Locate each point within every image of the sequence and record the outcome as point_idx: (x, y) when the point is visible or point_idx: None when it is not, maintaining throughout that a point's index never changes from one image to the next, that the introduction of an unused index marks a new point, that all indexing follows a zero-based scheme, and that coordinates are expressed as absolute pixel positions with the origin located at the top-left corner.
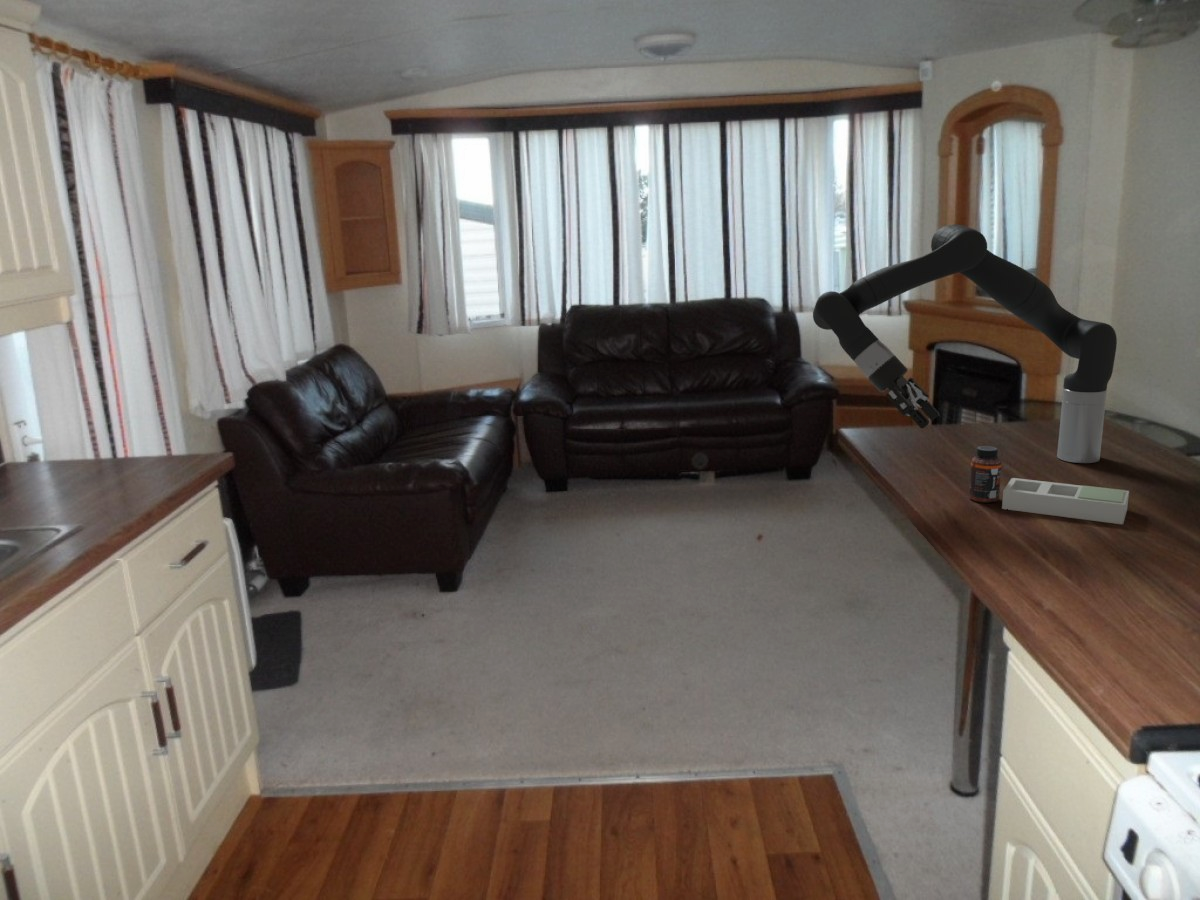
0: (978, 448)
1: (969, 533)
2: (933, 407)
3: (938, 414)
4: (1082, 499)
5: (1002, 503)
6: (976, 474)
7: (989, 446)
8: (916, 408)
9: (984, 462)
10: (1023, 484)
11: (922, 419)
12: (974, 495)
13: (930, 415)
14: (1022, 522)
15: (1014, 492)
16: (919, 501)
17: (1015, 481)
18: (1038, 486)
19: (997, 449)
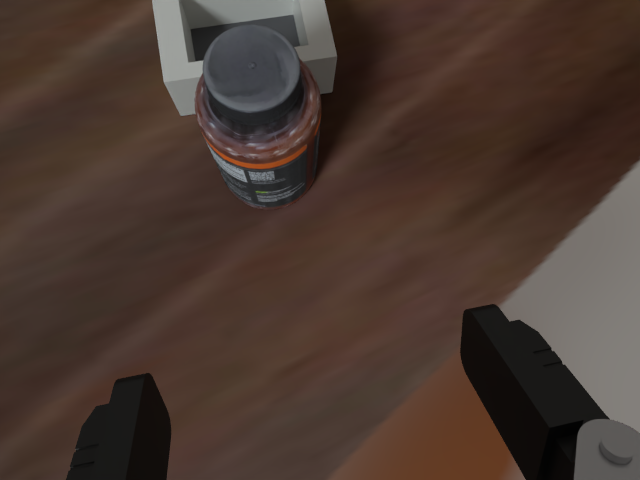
0: (284, 96)
1: (594, 88)
2: (111, 446)
3: (145, 375)
4: None
5: (333, 82)
6: (317, 140)
7: (210, 69)
8: (615, 430)
9: (316, 84)
10: (187, 46)
11: (547, 345)
12: (314, 174)
13: (162, 446)
14: (414, 13)
15: (329, 26)
16: (421, 327)
17: (195, 63)
18: (181, 5)
19: (236, 27)
